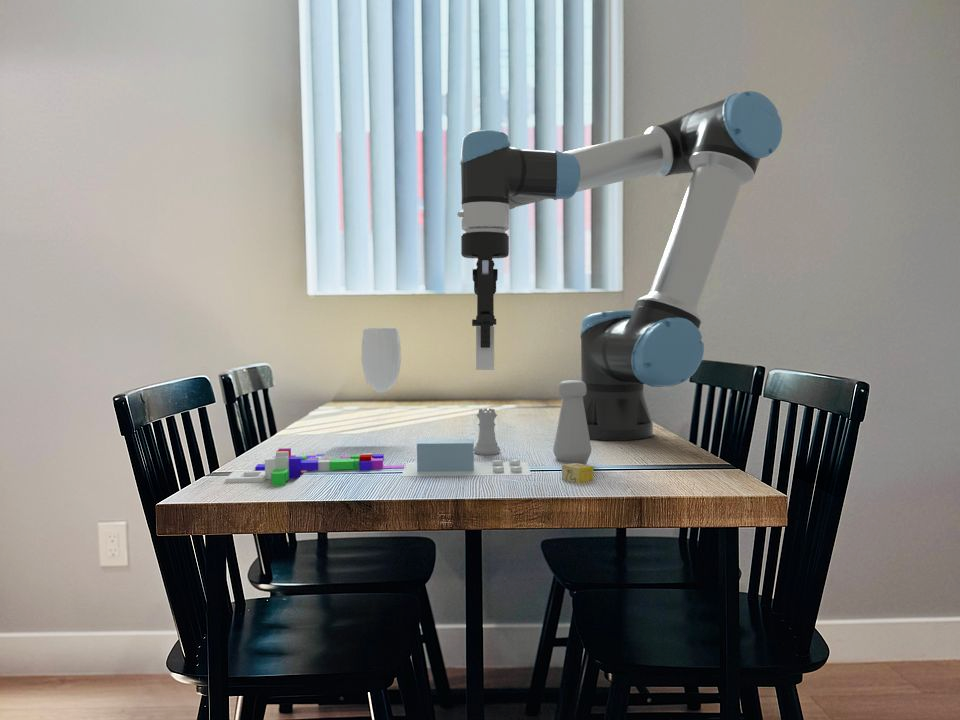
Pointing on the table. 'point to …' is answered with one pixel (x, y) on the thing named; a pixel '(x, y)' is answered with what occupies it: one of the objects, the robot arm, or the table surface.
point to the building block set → (305, 466)
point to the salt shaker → (572, 424)
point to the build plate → (477, 469)
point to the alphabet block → (577, 472)
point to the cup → (381, 357)
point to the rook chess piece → (486, 433)
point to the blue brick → (445, 455)
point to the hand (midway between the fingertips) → (484, 366)
